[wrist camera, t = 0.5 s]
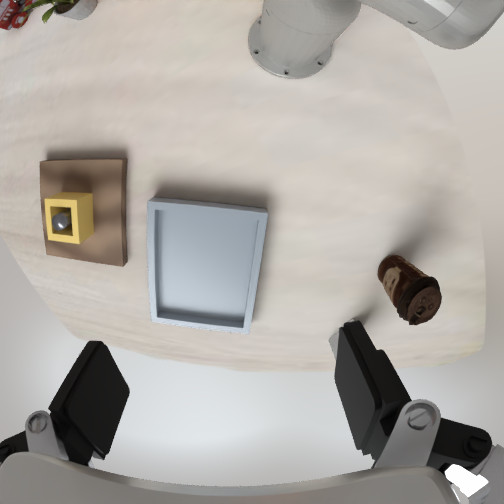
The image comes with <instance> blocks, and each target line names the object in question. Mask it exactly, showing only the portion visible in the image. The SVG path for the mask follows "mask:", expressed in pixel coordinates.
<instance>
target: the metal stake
mask: <svg viewBox="0 0 504 504" xmlns="http://www.w3.org/2000/svg"><path fill="white" fill-rule="evenodd" d="M71 224H72V216H71V207H70V208H68V209H66V210H64V211H62V212H60V213H58V214H56V215H55V216H53V218H52V225H53V227H54V229H55V230H57V231H61V230H63V229H64V228H66V227H68V226H69V225H71Z"/></svg>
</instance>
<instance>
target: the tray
mask: <svg viewBox="0 0 504 504" xmlns="http://www.w3.org/2000/svg"><path fill="white" fill-rule="evenodd" d="M267 218H268V211H267V209H266V208H258V207H249V206H241V205H232V204H223V203H213V202H204V201H193V200H182V199H171V198H159V197H153V198H152V199H150V200H149V201H148V204H147V258H148V284H149V300H150V314H151V322H157V323H163V324H170V325H177V326H184V327H191V328H199V329H207V330H215V331H224V332H234V333H244V334H249V333H250V327H251V321H252V314H253V308H254V302H255V296H256V289H257V283H258V276H259V270H260V264H261V257H262V251H263V244H264V238H265V231H266V224H267Z"/></svg>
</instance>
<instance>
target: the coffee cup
mask: <svg viewBox="0 0 504 504" xmlns="http://www.w3.org/2000/svg"><path fill="white" fill-rule="evenodd" d="M378 278H379V280H380V281H381V282H382V284H383V286H384V289H385V291H386V292H387V294H388V296H389V297H390V299H391V301H392V303H393V305H394V306H395V307H396V308H397V313H398V314H399V317H400V318H403V319H404V320H406V321H409V325H418V324H421V323H424V322H427V321H428V320H430V319H432V318H433V316H435V314H436V312H437V311H438V309H439V307H440V305H441V300H442V296H441V292H440V287H439V284H438V281H437V280H436V279H435V278H434V277H429V276H428V275H426V274H424V273H423V272H422V271H420V270H419V269H418V268H416V267H415V266H414V265H412V264H411V263H409V262H407V261H406V260H405V259H404V258H403V257H401V256H398V255H391V256H388V257H386V258H385V259H384V260H383V261H382V262H381V264H380V266H379V269H378Z"/></svg>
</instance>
